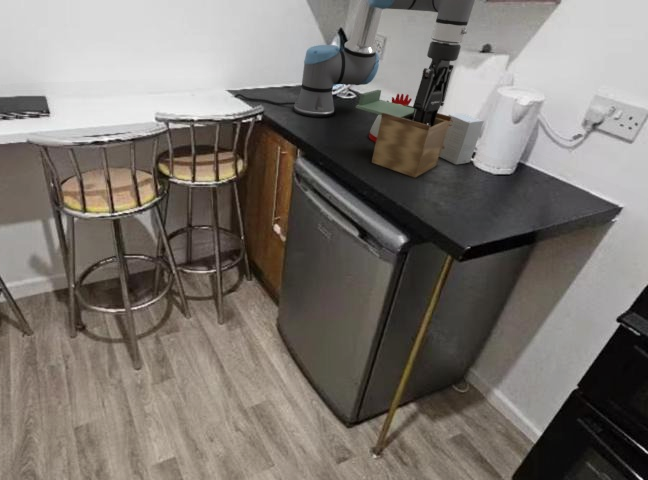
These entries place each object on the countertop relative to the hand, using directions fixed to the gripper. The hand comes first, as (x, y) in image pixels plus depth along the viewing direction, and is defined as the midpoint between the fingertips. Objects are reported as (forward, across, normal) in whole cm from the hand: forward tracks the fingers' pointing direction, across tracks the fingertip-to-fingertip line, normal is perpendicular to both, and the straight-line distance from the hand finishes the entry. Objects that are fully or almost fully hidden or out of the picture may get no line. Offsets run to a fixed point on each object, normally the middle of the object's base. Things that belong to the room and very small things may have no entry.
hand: (421, 130), depth 128 cm
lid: (-3, 0, +11) cm, 12 cm away
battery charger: (0, 0, 0) cm, 0 cm away
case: (+11, 0, +2) cm, 11 cm away
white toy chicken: (+11, +17, +16) cm, 26 cm away
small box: (+11, +17, -6) cm, 21 cm away
